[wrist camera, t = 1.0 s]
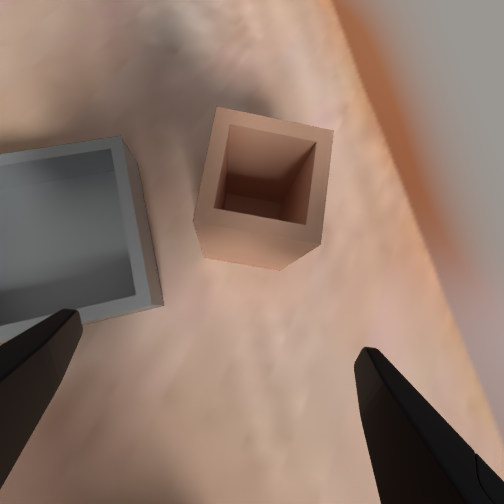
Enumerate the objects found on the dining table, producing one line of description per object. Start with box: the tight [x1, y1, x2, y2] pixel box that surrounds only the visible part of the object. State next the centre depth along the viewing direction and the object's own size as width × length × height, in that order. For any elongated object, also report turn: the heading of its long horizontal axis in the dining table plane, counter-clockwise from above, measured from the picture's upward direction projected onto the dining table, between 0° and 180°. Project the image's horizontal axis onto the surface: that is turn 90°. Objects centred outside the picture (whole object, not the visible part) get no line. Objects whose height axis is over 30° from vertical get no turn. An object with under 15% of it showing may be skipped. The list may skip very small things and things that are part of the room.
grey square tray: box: [0, 136, 164, 344], centre depth 20 cm, size 12×12×4 cm
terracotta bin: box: [193, 106, 334, 271], centre depth 19 cm, size 6×6×10 cm
